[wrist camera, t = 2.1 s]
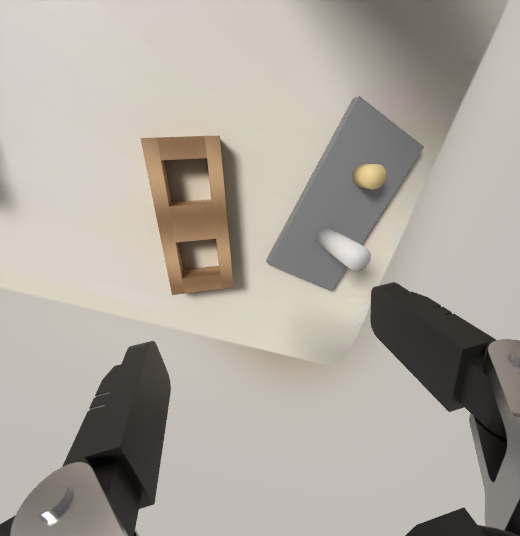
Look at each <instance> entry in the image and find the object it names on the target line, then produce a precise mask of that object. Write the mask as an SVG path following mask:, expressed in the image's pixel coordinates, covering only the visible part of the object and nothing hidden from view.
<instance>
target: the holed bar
mask: <svg viewBox="0 0 520 536" xmlns="http://www.w3.org/2000/svg"><path fill="white" fill-rule="evenodd" d="M141 142H142V147H143V152H144V157H145V162H146V167H147V172H148V177H149V182H150V187H151V192H152V197H153V202H154V207H155V212H156V217H157V222H158V227H159V232H160V237H161V242H162V247H163V252H164V257H165V262H166V267H167V272H168V277H169V282H170V287H171V291H172V295H177V294H185V293H193V292H201V291H209V290H217V289H224V288H232V287H234V286H233V276H232V265H231V254H230V243H229V232H228V221H227V210H226V199H225V188H224V178H223V167H222V156H221V145H220V136H195V137H164V138H141ZM199 158H207V163H208V172H209V181H210V189H211V198H212V200H199V201H185V202H172V200H171V194H170V189H169V183H168V177H167V171H166V166H165V160H177V159H199ZM207 239H216V243H217V251H218V260H219V266H215V267H206V268H197V269H188V270H184V269H183V264H182V258H181V252H180V246H179V242H186V241H197V240H207Z"/></svg>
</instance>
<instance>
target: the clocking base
mask: <svg viewBox="0 0 520 536" xmlns="http://www.w3.org/2000/svg"><path fill="white" fill-rule="evenodd" d="M423 148H424V147H423V146H422V145H421V144H419V143H418V142H417V141H416V140H414V139H413V138H412V137H411V136H409V135H408V134H407V133H405V132H404V131H403V130H402V129H400V128H399V127H398V126H397V125H395V124H394V123H393V122H392V121H390V120H389V119H388V118H386V117H385V116H384V115H383V114H381V113H380V112H379V111H378V110H376V109H375V108H374V107H372V106H371V105H370V104H369V103H367V102H366V101H365V100H364V99H362V98H361V97H360V96H359V97H356V98H354V99H353V100H352V102H351V104H350V105H349V107H348V109H347V111H346V113H345V115H344V117H343V118H342V120H341V122H340V124H339V126H338V128H337V130H336V131H335V133H334V135H333V137H332V139H331V141H330V143H329V145H328V146H327V148H326V150H325V152H324V154H323V156H322V158H321V159H320V161H319V163H318V165H317V167H316V169H315V171H314V172H313V174H312V176H311V178H310V180H309V182H308V184H307V185H306V187H305V189H304V191H303V193H302V195H301V197H300V198H299V200H298V202H297V204H296V206H295V208H294V210H293V211H292V213H291V215H290V217H289V219H288V221H287V223H286V224H285V226H284V228H283V230H282V232H281V234H280V236H279V237H278V239H277V241H276V243H275V245H274V247H273V249H272V250H271V252H270V254H269V256H268V258H267V260H266V261H267V263H268V264H269V265H271V266H274V267H276V268H279V269H281V270H283V271H286V272H288V273H290V274H293V275H295V276H297V277H300V278H302V279H304V280H307V281H309V282H312V283H314V284H316V285H319V286H321V287H323V288H326V289H328V290H330V291H332V290H333V288H334V287H335V285H336V284H337V282H338V281H339V279H340V277H341V276H342V274H343V273H344V271H345V270H346V268H347V267H348V268H349V269H351V270H353V271H359V270H362V269H363V268H365V267H366V266H367V265H368V263H369V261H370V258H371V254H370V251H369V250H368V249H367V248H366V247H364V246H362V243H363V242H364V240H365V238H366V237H367V235H368V234H369V232H370V231H371V229H372V228H373V226H374V224H375V223H376V221H377V220H378V218H379V217H380V215H381V213H382V212H383V210H384V209H385V207H386V206H387V204H388V203H389V201H390V199H391V198H392V196H393V195H394V193H395V192H396V190H397V188H398V187H399V185H400V184H401V182H402V181H403V179H404V178H405V176H406V174H407V173H408V171H409V170H410V168H411V167H412V165H413V163H414V162H415V160H416V159H417V157H418V156H419V154H420V153H421V151H422V149H423Z"/></svg>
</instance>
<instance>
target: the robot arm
mask: <svg viewBox="0 0 520 536" xmlns="http://www.w3.org/2000/svg"><path fill="white" fill-rule="evenodd" d="M371 327H372V329H373V332H374V334H375V335H376V337H377V338H378V339H379V340H380V341H381V342H382V343H383V344H384V345H385V346H386V347H387V348H388V349H389V350H390V351H391V352H392V353H393V354H394V356H395V357H396V358H397V359H398V360H399V361H400V362H401V363H402V364H403V365H404V366H405V367H406V368H407V369H408V370H409V371H410V372H411V373H412V374H413V375H414V376H415V377H416V378H417V379H418V380H419V381H420V382H421V383H422V385H423V386H424V387H425V388H426V389H427V390H428V391H429V392H430V393H431V394H432V395H433V396H434V397H435V398H436V399H437V400H438V401H439V402H440V403H441V404H442V405H443V406H444V407H445V408H446V409H447V410H448V411H449V412H451V411H454V410H457V409H460V408H463V407H465V408H466V409H467V410H468V411H469V412H470V413H471V414H470V418H469V421H470V426H471V430H472V435H473V440H474V444H475V449H476V453H477V458H478V462H479V466H480V471H481V475H482V479H483V484H484V490H485V524H486V526H480V525H477V524H476V523H475V521H474V520H473V519H472V517H471V516H470V515H469V513H468V512H467V511H466V509H465V508H461V509H459V510H456V511H453V512H450V513H448V514H445V515H442V516H440V517H437V518H434V519H432V520H429V521H426V522H424V523H421V524H418V525H416V526H415V527H414V528H413V529H412V530H411V531H410V532H409V533H408V534H407V535H406V536H520V341H519V340H510V339H502V340H496V339H494V338H492V337H491V336H489V335H488V334H486V333H484V332H483V331H481V330H480V329H478V328H476V327H475V326H473V325H471V324H470V323H468V322H467V321H465V320H463V319H462V318H460V317H459V316H457V315H455V314H452V313H451V312H450V311H449V310H447V309H446V308H444V307H441V306H440V305H439V304H438V303H436V302H435V301H433V300H431V299H429V298H428V297H425V296H422V295H420V294H417V293H414V292H409V291H408V290H406V289H405V288H403V287H402V286H400V285H399V284H397V283H395V282H393V283H389V284H384V285H380V286H376V287H374V288H373V289H372V291H371ZM170 390H171V387H170V379H169V375H168V372H167V370H166V367H165V364H164V362H163V359H162V357H161V355H160V352H159V350H158V347H157V345H156V343H155V342H154V341H151V342H146V343H142V344H138V345H134V346H130V347H129V348H128V350H127V352H126V354H125V357H124V359H123V362H122V364H121V365H117V366H114V367H113V368H112V370H111V371H110V372H109V373H108V374H107V375H106V376H105V378H104V379H103V380H102V382H101V384H100V386H99V388H98V391H97V393H96V395H95V396H96V397H95V398H94V399H93V401H92V403H91V406H90V411H88V412H87V414H86V416H85V419H84V421H83V423H82V425H81V427H80V430H79V432H78V434H77V436H76V438H75V440H74V443H73V445H72V447H71V449H70V451H69V453H68V456H67V458H66V460H65V462H64V464H63V467H61V468H60V469H58V470H56V471H54V472H53V473H52V474H50V475H49V476H47V477H46V478H45V479H44V480H43V481H42V482H40V483H39V484H38V485H37V486H36V488H34V489H33V491H32V492H31V493H30V494H29V495H28V497H27V498H26V499H25V501H24V502H23V503H22V505H21V507H20V508H19V510H18V512H17V514H16V515H15V516H14V517H12V518H10V519H9V520H7V521H5V522H4V523H2V524H0V536H139V534H138V532H137V531H136V530H135V526H136V520H137V516H138V510H139V509H140V508H144V507H146V506H150V505H153V504H154V502H155V496H156V489H157V482H158V475H159V468H160V461H161V455H162V448H163V441H164V433H165V426H166V420H167V413H168V406H169V398H170Z"/></svg>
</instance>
